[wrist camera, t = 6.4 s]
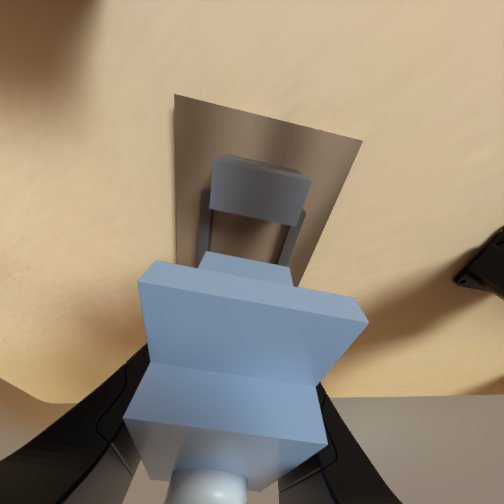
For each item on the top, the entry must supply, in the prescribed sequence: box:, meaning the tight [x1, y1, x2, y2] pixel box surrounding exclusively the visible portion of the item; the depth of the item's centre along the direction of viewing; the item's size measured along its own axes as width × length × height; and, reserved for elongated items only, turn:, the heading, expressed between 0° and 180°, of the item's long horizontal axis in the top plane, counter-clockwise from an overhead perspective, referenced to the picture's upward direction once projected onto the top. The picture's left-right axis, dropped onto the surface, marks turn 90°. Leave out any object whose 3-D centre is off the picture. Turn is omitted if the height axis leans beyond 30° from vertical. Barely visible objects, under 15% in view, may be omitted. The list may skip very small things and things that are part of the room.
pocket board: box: [174, 94, 363, 287], centre depth 15 cm, size 12×18×5 cm, turn 168°
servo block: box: [123, 251, 369, 504], centre depth 7 cm, size 4×11×7 cm, turn 168°
